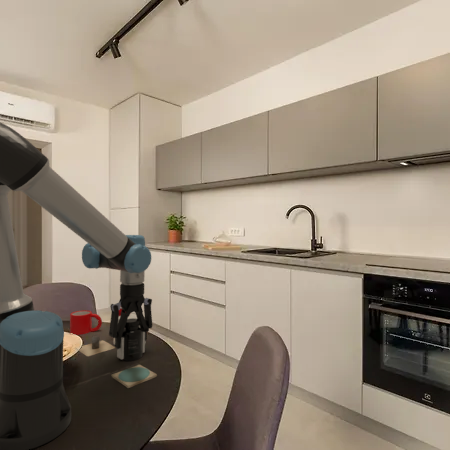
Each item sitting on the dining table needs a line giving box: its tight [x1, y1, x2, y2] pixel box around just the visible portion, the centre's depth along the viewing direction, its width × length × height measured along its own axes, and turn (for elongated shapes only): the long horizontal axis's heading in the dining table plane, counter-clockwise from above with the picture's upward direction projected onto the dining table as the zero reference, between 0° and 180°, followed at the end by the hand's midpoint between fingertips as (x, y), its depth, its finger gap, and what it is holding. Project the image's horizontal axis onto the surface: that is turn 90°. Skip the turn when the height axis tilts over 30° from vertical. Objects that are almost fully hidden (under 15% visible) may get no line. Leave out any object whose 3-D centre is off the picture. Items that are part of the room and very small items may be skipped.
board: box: [78, 334, 117, 357], centre depth 108 cm, size 10×10×5 cm
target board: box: [111, 364, 158, 389], centre depth 90 cm, size 9×9×1 cm
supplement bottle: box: [122, 318, 143, 362], centre depth 102 cm, size 7×7×12 cm
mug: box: [69, 309, 103, 336], centre depth 125 cm, size 8×12×8 cm, turn 96°
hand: (131, 354), depth 102 cm, fingers closed on supplement bottle, 7 cm apart
